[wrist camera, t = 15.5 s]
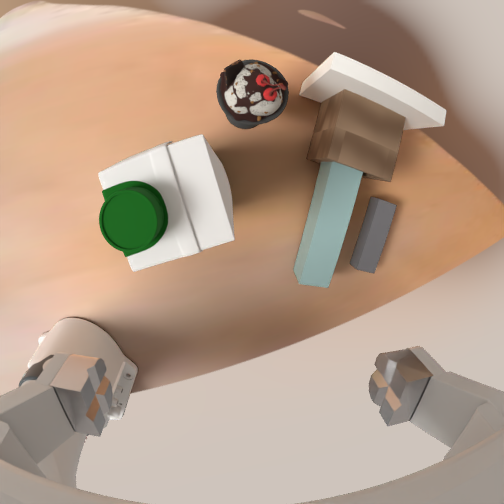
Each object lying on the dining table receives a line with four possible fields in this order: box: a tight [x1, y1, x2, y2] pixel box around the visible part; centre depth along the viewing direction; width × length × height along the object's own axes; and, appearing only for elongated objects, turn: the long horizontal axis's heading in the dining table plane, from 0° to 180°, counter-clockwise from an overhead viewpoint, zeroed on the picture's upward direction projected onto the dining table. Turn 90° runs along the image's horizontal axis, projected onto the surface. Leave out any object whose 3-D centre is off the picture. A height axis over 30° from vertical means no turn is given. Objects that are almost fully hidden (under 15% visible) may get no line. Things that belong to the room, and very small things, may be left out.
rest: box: [350, 197, 397, 273], centre depth 39 cm, size 10×3×2 cm, turn 165°
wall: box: [299, 52, 446, 130], centre depth 29 cm, size 2×14×12 cm, turn 75°
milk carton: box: [98, 134, 235, 272], centre depth 27 cm, size 9×9×20 cm
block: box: [307, 89, 406, 182], centre depth 32 cm, size 8×8×8 cm
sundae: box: [216, 60, 289, 129], centre depth 27 cm, size 7×7×15 cm
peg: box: [293, 162, 363, 288], centre depth 36 cm, size 18×4×4 cm, turn 169°
